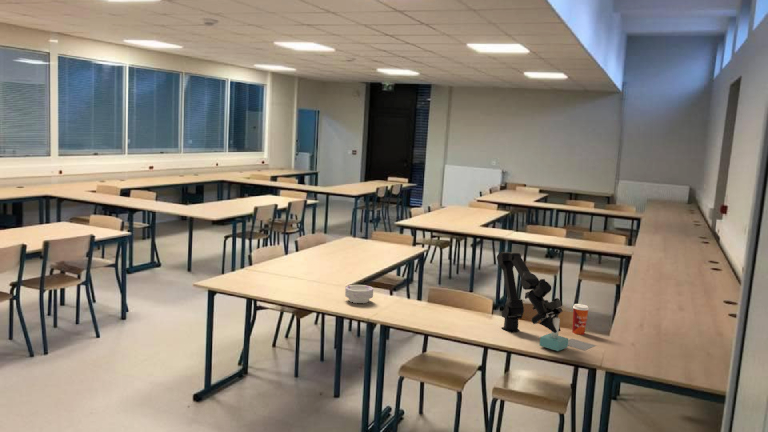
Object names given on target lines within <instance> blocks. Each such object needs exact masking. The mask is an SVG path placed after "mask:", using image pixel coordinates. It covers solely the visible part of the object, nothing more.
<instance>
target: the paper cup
mask: <svg viewBox="0 0 768 432" xmlns="http://www.w3.org/2000/svg"><path fill="white" fill-rule="evenodd" d="M572 308H573V310H572V327H571V328H572V333H573V334H575V335H580V336H581V335H585V331H586V326H587V321H588V314H589V311H590V308H589V306H588V305H586V304H582V303H574V304H573V306H572Z"/></svg>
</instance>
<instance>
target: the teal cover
mask: <svg viewBox="0 0 768 432" xmlns="http://www.w3.org/2000/svg"><path fill="white" fill-rule="evenodd" d="M560 323H561V318H560V317H558V318H557V317H553V325H554V327H555V328H556V331H557V332H556V333H554V332H553V331H551V332H550V333H547V334H545V335H541V336H540V339H539V346H540V347H543V348H547V349H549V350H551V349H552V351H556V352H560V351H562V350H564V349H567V348H568V347H569V346H568V340H569V338H568V337H564V336H561V335H559V332H560V331H559V326H560Z"/></svg>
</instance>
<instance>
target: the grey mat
mask: <svg viewBox="0 0 768 432" xmlns="http://www.w3.org/2000/svg"><path fill="white" fill-rule="evenodd" d="M596 346H597V345H596V344H593V343H589V342H585V341H582V340H579V339H575V338H570V339H568V347H570V348H573V349H577V350H581V351H587V350H589V349H591V348H594V347H596Z"/></svg>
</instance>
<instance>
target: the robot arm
mask: <svg viewBox="0 0 768 432" xmlns="http://www.w3.org/2000/svg"><path fill="white" fill-rule="evenodd" d="M496 260H497V263H498V266H499V268H501V270H502V274H503V279H504V280H503V281H504V284H505V285H504V286H505V291H506V302H505V304H504V306H505V307H504V308H503V310H502V311H501V317H502V318H504V321H503V322H504V324H503V327H501V329H502V330H503V331H507V332H509V333H515V332H520V328H519V319H522V318H523V317H524V316H523V315H524V311H525V309H524V308H525V307H524V301H523V300H522V299H520V298H519V297H518V292H517V284H516V279H515V273H514V268H515V270H516V271H517V274H518V275H519V277H520V284H521V287H522V288H523V290H525V291H527V292H525V293H524V299H525V300H527V299H528V300H529V302H530V303H531V305H532V306H533V307H532V309H533V311H536V313H537V314H535V315H534V316H533V317H532V318H531V323H532V324H533V325H536V324H539V325H541V326H543V327H544V328H546V329H548V330H549V331H551V332H552V331H553V332H554V333H556V332H557V331H556V328H555V327H554V325H553V317H557V318H559V316H560V314H562V313H563V309H562V304H563V303H562V301H561V300H560V299H559V297H556V298H553V300H552V301H549V300H547V299H546V300H545V298H544V297H546V296H547V295H548V294H549V293H550V292H551V291H552V286H551V284H550V283H549V282H548V281H546V279H545V278H541V279H539V278H538V277H537V275H536V274H534V273H532V272H531V271H530V269H529V268H528V266H527V265H526V263H525V261H524V259H523V258H522V255H521V253H520V252H512V251H500V252H499V253H498V254H497V256H496ZM528 290H529V291H528ZM539 321H540V322H539ZM538 322H539V323H538ZM559 332H562V331H561V327H560V325H559Z"/></svg>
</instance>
